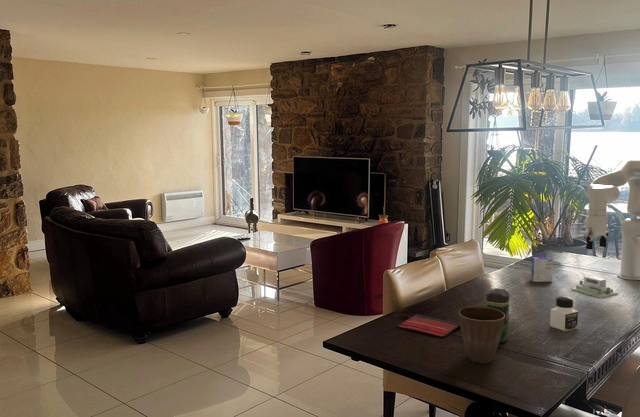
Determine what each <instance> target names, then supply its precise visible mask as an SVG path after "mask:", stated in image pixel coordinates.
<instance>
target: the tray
mask: <svg viewBox="0 0 640 417" xmlns="http://www.w3.org/2000/svg"><path fill="white" fill-rule="evenodd" d="M583 284H584V280H579V284H576V286H575V287H571V289H570V290H571V291H573V292H577V293H580V294H584V295H588V296H591V295H592V297H596V298H600V299H603V298H608V297H612V296H617V295H619V294H618V292H617V291H614V289H613V288H611V287H607V286H606V290H602V291H599V290H595V289H591V288H587V287H583Z"/></svg>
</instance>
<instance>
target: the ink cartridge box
mask: <svg viewBox="0 0 640 417" xmlns="http://www.w3.org/2000/svg"><path fill="white" fill-rule="evenodd" d="M545 254H546V253H545V252H537V257H536V256H535V257H530V280H531V282H535V283H541V282H543V283H545V282H547V283H548V282H550V283H552V282H553V273H554V272H553V270H554V268H553V267H554V258H552V257H550V256H546V255H545Z"/></svg>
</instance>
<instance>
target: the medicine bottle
mask: <svg viewBox="0 0 640 417" xmlns="http://www.w3.org/2000/svg"><path fill="white" fill-rule="evenodd" d="M578 318H579V311H578V310H577V309H574V299H573V298H571V297H569V296H564V295H563V296H557V298H555V307H554V308H551V309H550V319H549V321H550V322H549V327H551V328H554V329H557V330H559V331H562V332H568V331H572V330H577V329H578V320H579V319H578Z"/></svg>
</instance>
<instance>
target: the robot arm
mask: <svg viewBox="0 0 640 417" xmlns="http://www.w3.org/2000/svg"><path fill="white" fill-rule="evenodd" d="M627 183H628V186H629V193H628V200H627V207H626V210H627V214H629V215H630V216H635V217H640V158H632V157H631V158H629V157H628V158H625V159H622V160H621V161H620V162H619V163H618V165H617V166H616V167H615V168H614V169H613V170H612V172H611V171H610V172H609V173H606V174H603V175H600V176H598V177H597V178H595V179H593V181H591V183H590V184H589V185H588V187H587V188H586V197H587V198H588V215H587V218H586V223H585V231H583V235H584V240H585V249H586V250H594V241H593V240H594V238H598V237H600V238H599V243H598V244H599V247H600V248H601V247H602V248H607V239H608V236H609V233H610V228H608V221H607V202H614V201H616V200H618V199H619V198H620V194H621V192H620V189H619V188H618V187H622V186H625V185H626V184H627ZM635 217H628V218H625V219H623V220H622V222H620V223H621V224H620V229H621V258H620V272H618V273H617V275H616V276H617V277H618V278H619V279H623V280H630V281H640V218H635Z"/></svg>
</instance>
